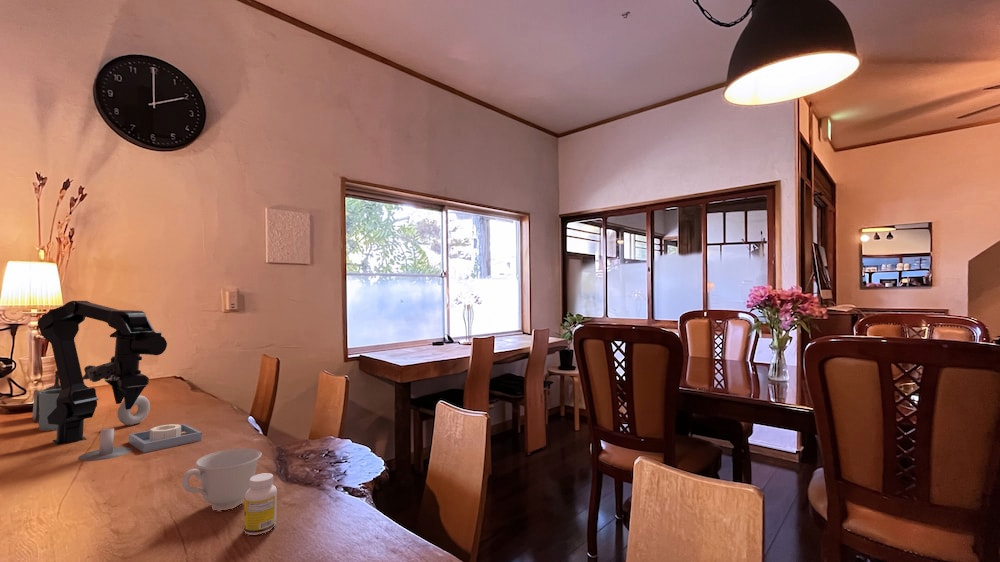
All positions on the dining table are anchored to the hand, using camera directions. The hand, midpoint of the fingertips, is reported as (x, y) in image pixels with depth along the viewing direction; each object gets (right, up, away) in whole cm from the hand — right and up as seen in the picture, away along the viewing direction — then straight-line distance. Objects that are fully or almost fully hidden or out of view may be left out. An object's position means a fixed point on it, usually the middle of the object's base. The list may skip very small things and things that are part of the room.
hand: (123, 406), depth 128 cm
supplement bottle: (+65, -11, -45) cm, 80 cm away
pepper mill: (-47, -12, +30) cm, 57 cm away
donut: (-14, -12, +20) cm, 28 cm away
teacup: (+53, -11, -37) cm, 65 cm away
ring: (+11, -11, +2) cm, 16 cm away
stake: (+3, -11, -9) cm, 14 cm away
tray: (+11, -12, +2) cm, 16 cm away
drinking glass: (-36, -12, +16) cm, 41 cm away
